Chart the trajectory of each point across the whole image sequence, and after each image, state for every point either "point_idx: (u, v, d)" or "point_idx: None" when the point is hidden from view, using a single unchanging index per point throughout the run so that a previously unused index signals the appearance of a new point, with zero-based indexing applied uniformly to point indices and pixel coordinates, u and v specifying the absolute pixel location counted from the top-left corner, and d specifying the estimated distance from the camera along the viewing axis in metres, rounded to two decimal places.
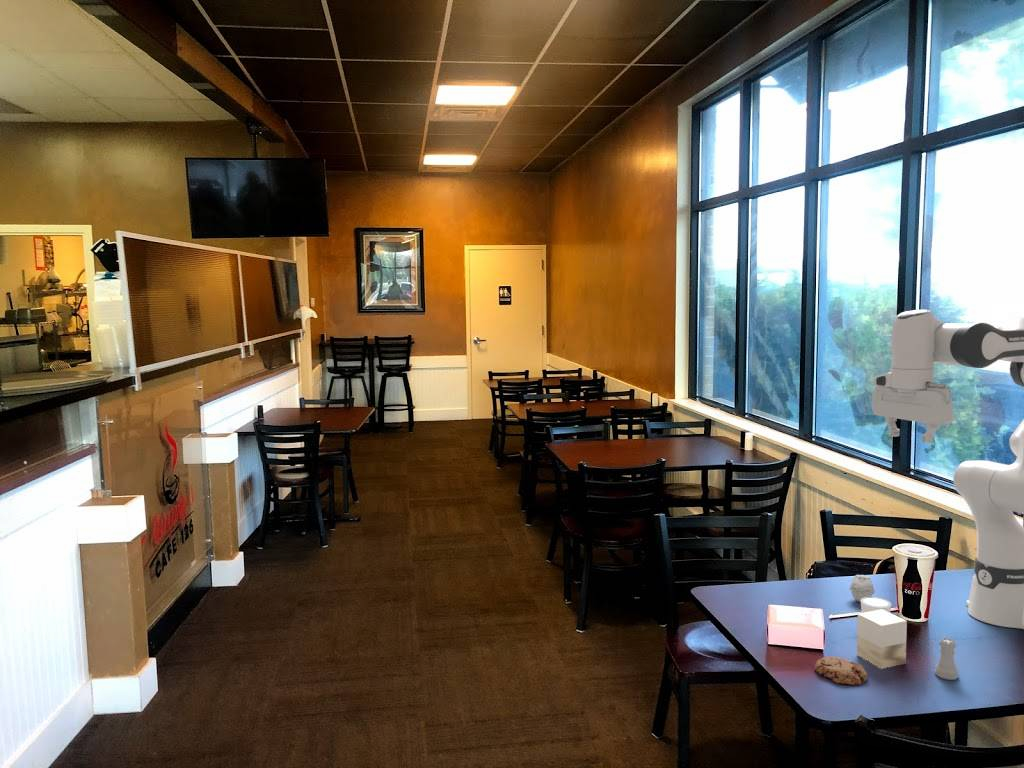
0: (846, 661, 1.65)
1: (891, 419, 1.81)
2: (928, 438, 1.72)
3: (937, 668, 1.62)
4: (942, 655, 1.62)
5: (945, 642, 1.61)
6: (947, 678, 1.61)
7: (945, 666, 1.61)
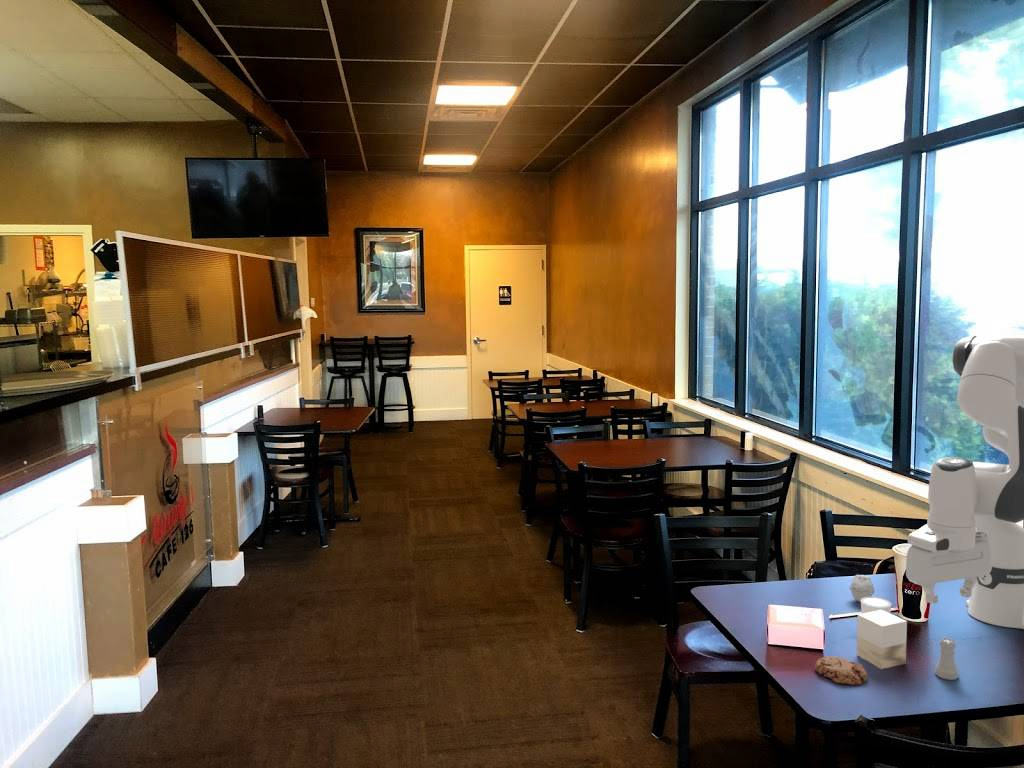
0: (846, 661, 1.65)
1: None
2: None
3: (937, 668, 1.62)
4: (942, 655, 1.62)
5: (945, 642, 1.61)
6: (947, 678, 1.61)
7: (945, 666, 1.61)
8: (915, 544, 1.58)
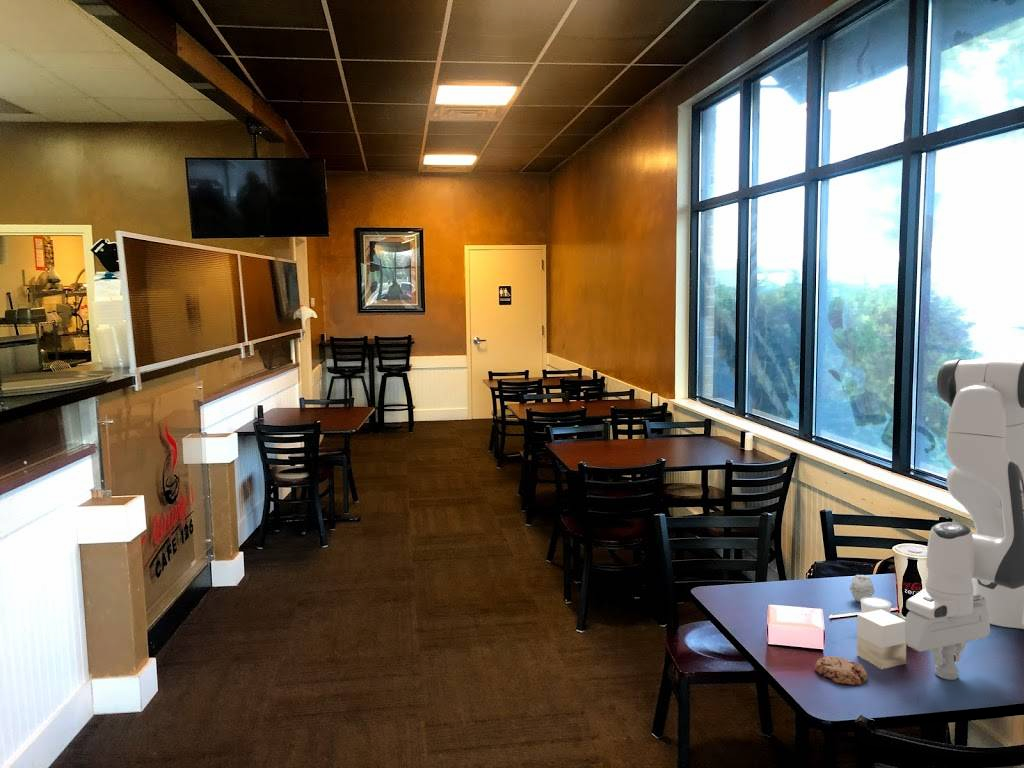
0: (846, 661, 1.65)
1: None
2: None
3: (937, 668, 1.62)
4: (942, 655, 1.62)
5: None
6: (947, 678, 1.61)
7: (945, 666, 1.61)
8: (913, 610, 1.59)
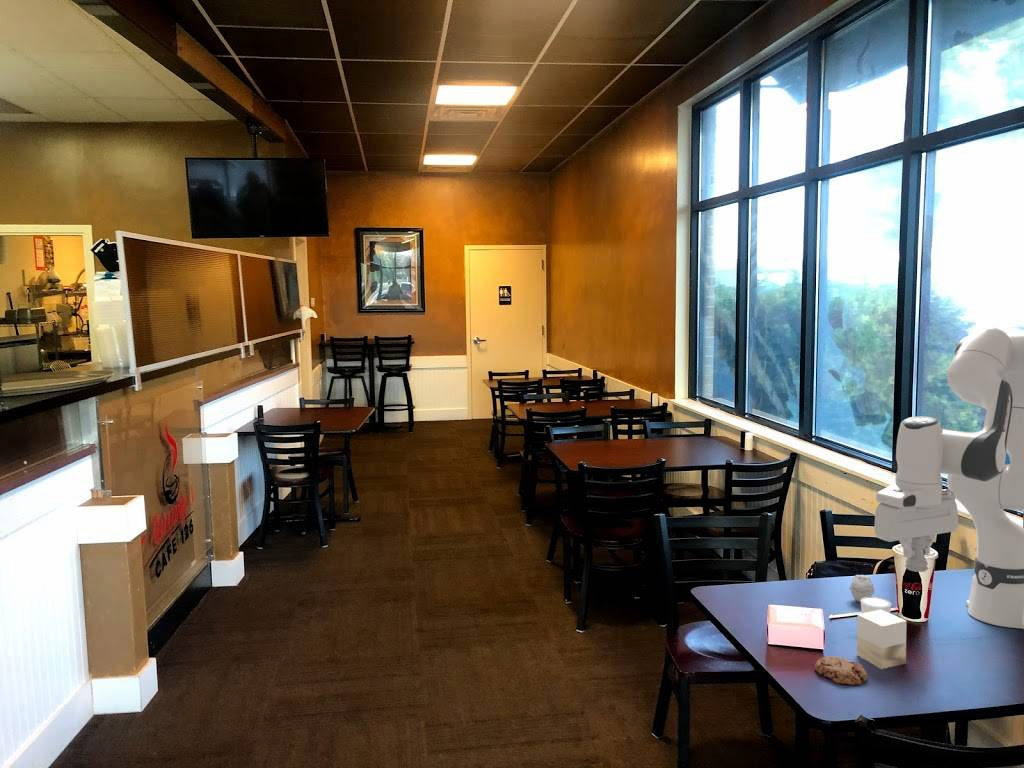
0: (846, 661, 1.65)
1: None
2: None
3: (907, 561, 1.64)
4: (912, 548, 1.64)
5: None
6: (917, 570, 1.62)
7: (915, 558, 1.63)
8: (883, 501, 1.61)
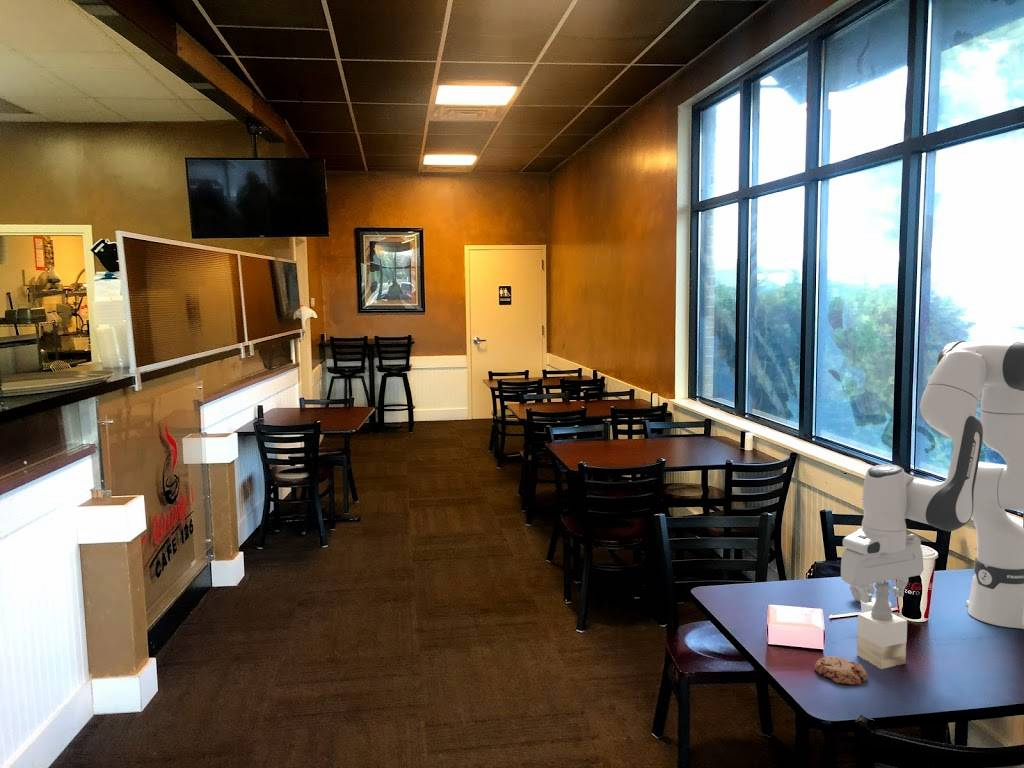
0: (846, 661, 1.65)
1: None
2: None
3: (872, 609, 1.70)
4: (877, 597, 1.69)
5: (880, 584, 1.68)
6: (881, 618, 1.68)
7: (880, 607, 1.68)
8: (849, 547, 1.66)
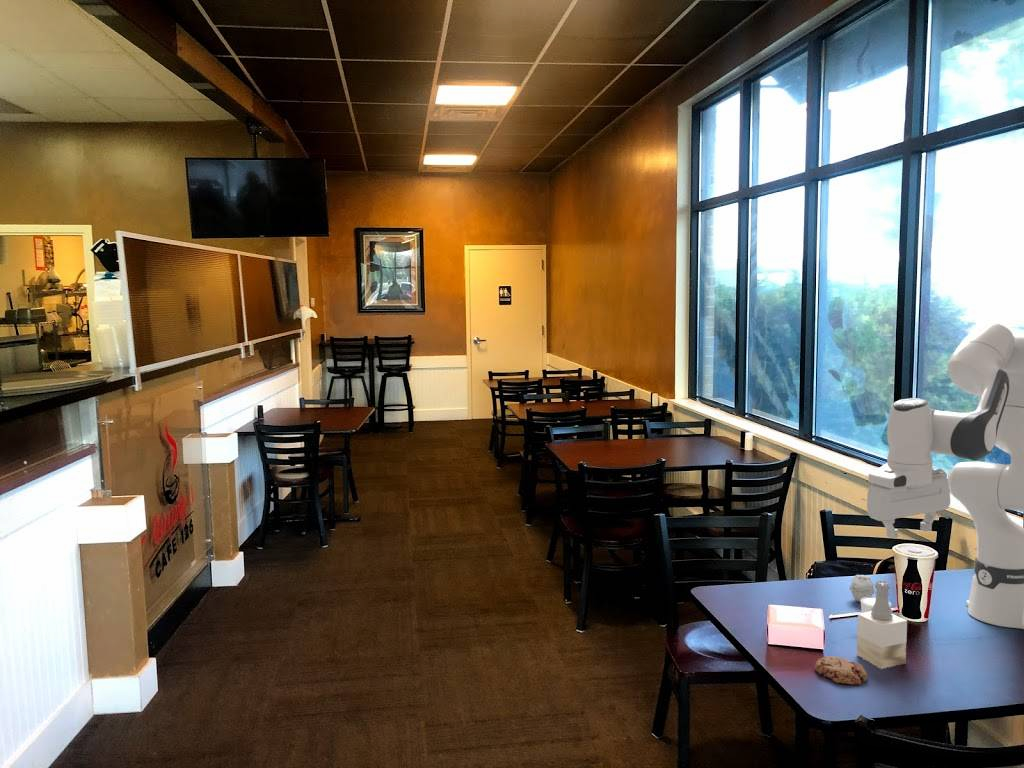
0: (846, 661, 1.65)
1: None
2: None
3: (872, 609, 1.70)
4: (877, 597, 1.69)
5: (879, 584, 1.68)
6: (881, 618, 1.68)
7: (880, 607, 1.68)
8: (875, 482, 1.65)
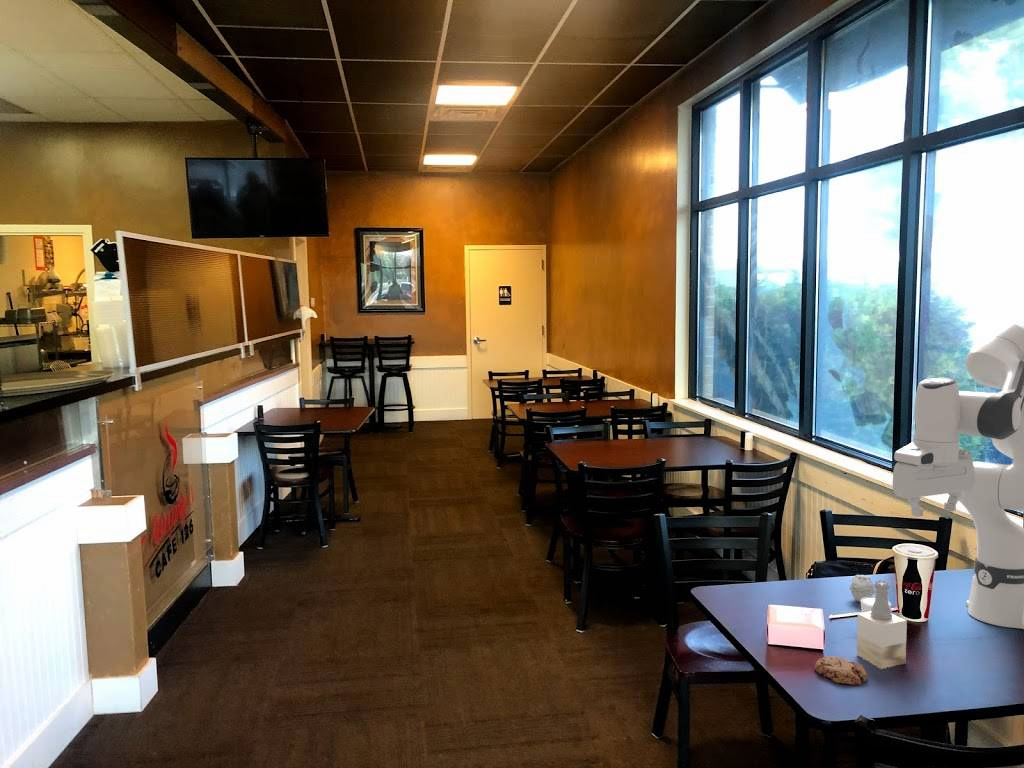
0: (846, 661, 1.65)
1: None
2: None
3: (872, 609, 1.70)
4: (876, 597, 1.69)
5: (879, 584, 1.68)
6: (881, 618, 1.68)
7: (879, 607, 1.68)
8: (901, 460, 1.65)
